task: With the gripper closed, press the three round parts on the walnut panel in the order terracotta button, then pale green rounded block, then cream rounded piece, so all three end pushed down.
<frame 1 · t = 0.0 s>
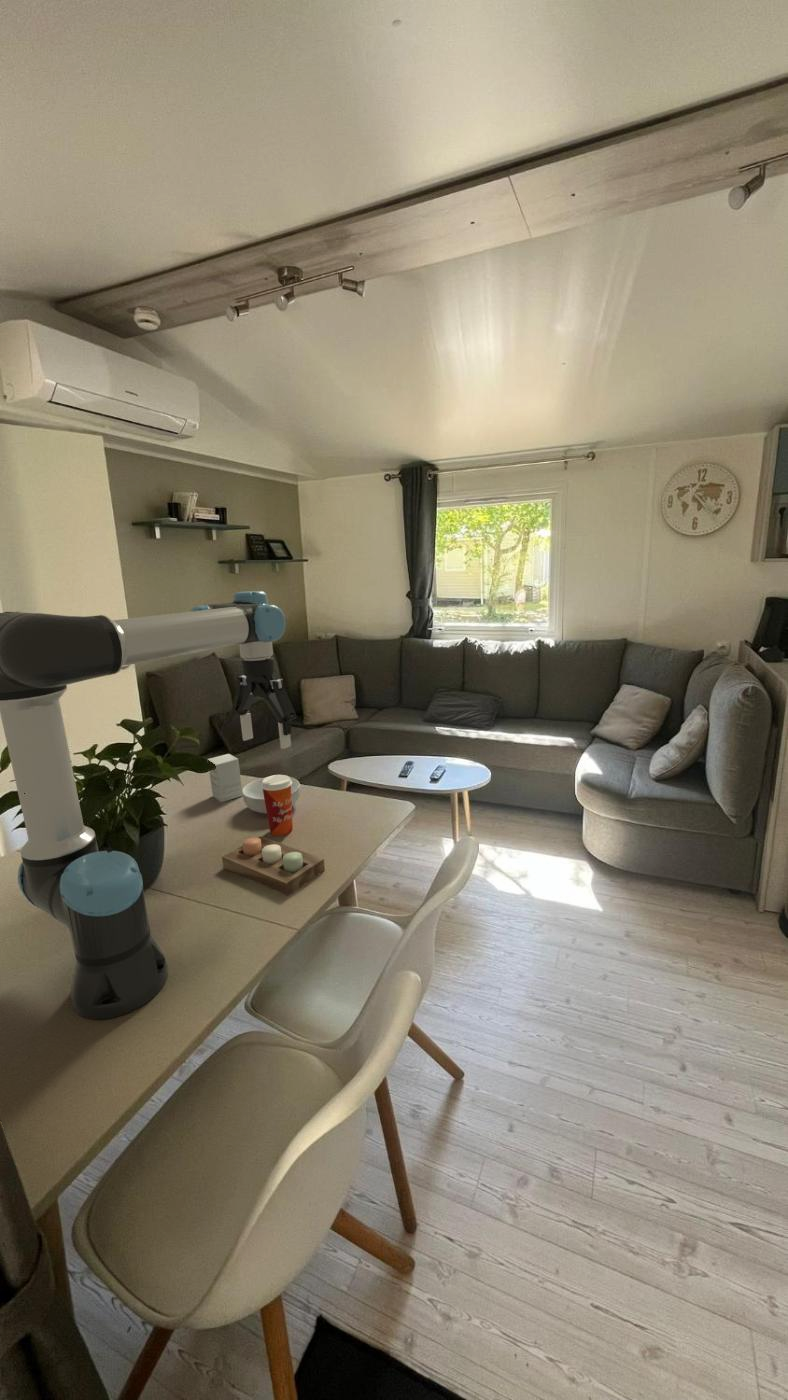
hand: (266, 743, 138), 28 cm above the table, fingers open, 13 cm apart
coffee cup: (281, 831, 153), on the table
walnut panel: (273, 869, 134), on the table
cereal bowl: (273, 809, 168), on the table
terracotta button: (252, 848, 137), point 3 cm above the table, slide at 0.0 cm
cream rounded piece: (272, 855, 133), point 3 cm above the table, slide at 0.0 cm
pale green rounded block: (293, 863, 129), point 3 cm above the table, slide at 0.0 cm
supplement box: (227, 796, 178), on the table
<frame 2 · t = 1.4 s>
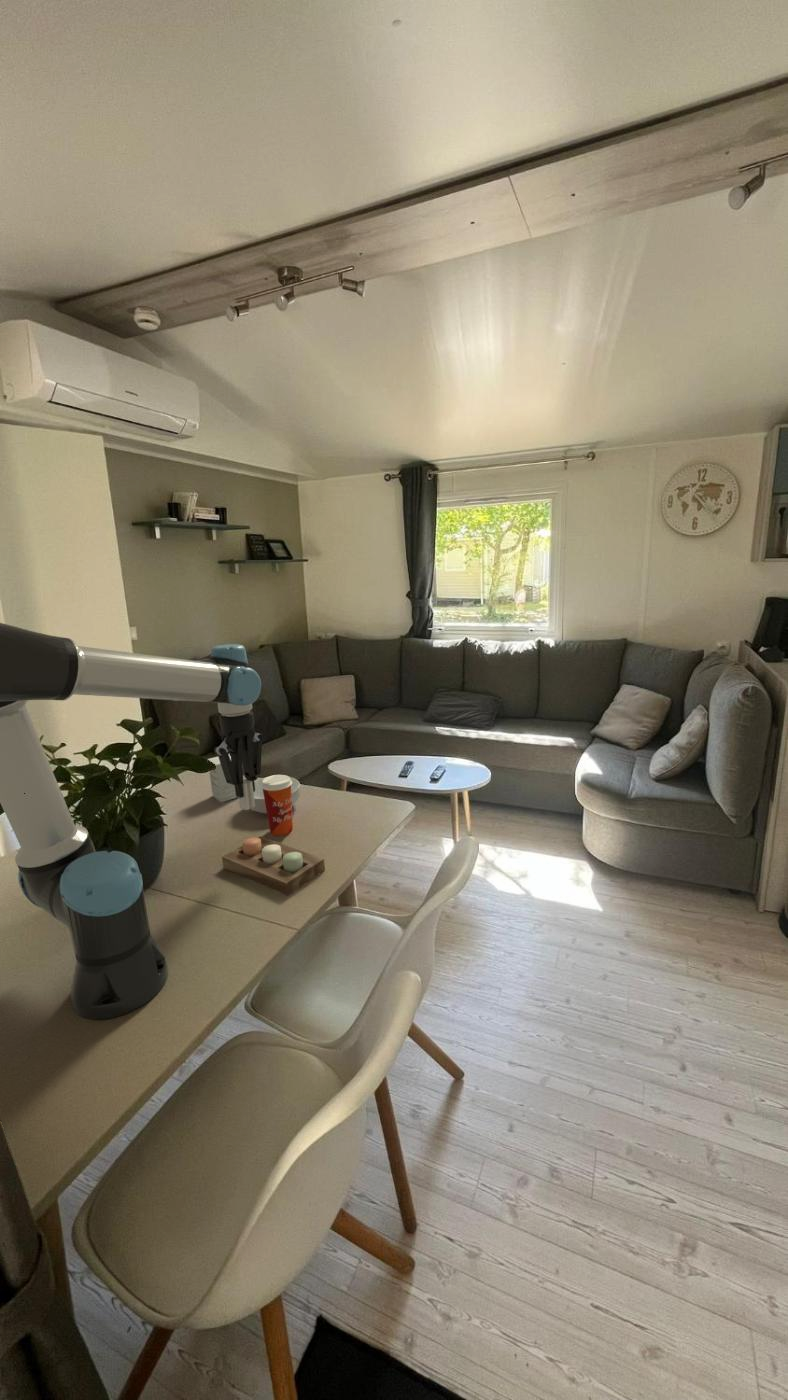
hand: (247, 807, 134), 14 cm above the table, fingers closed
nothing on the table moved.
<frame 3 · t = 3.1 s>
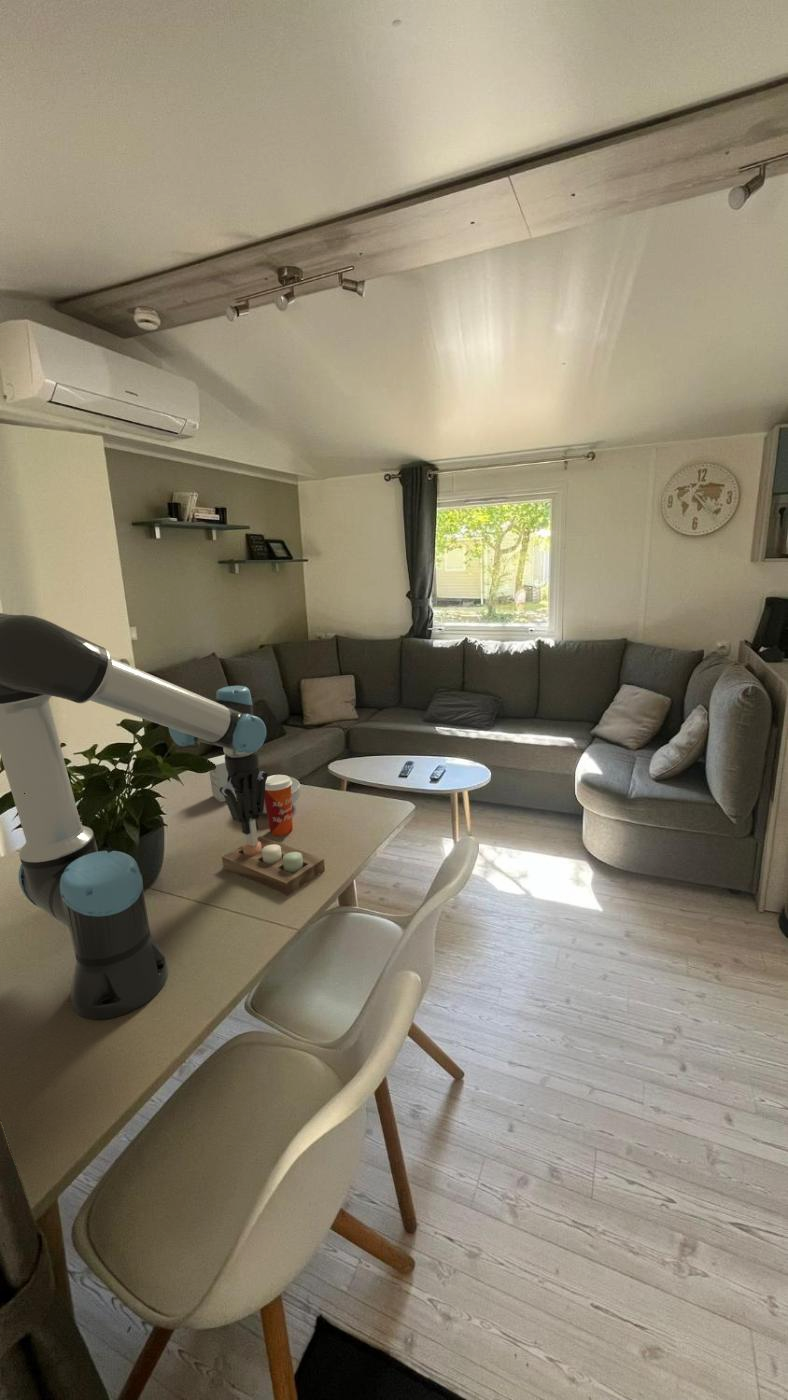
hand: (252, 843, 137), 5 cm above the table, fingers closed
terracotta button: (252, 851, 137), point 3 cm above the table, slide at -0.8 cm, touching gripper
everything else where it was.
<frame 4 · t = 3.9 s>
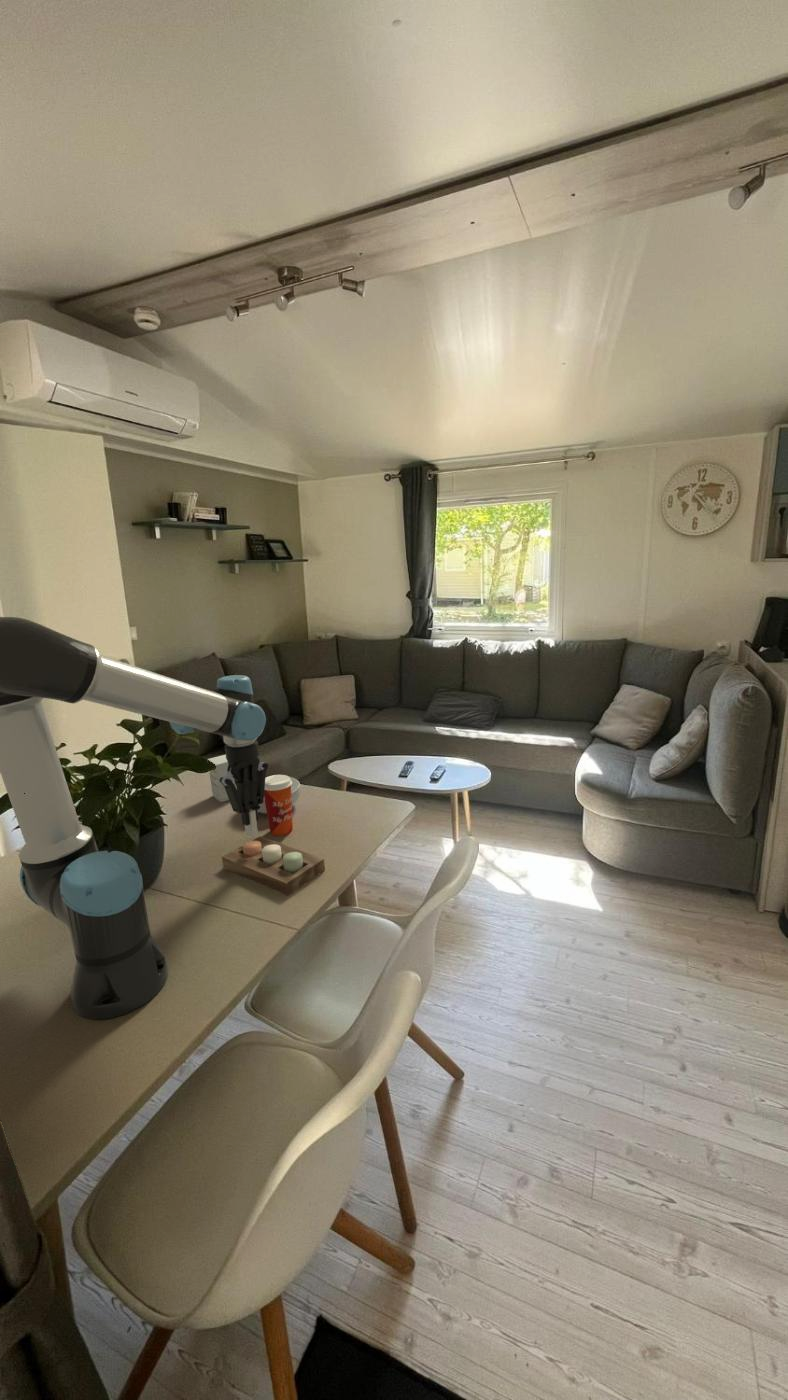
hand: (251, 834, 136), 7 cm above the table, fingers closed
terracotta button: (252, 851, 137), point 3 cm above the table, slide at -0.9 cm
everything else where it was.
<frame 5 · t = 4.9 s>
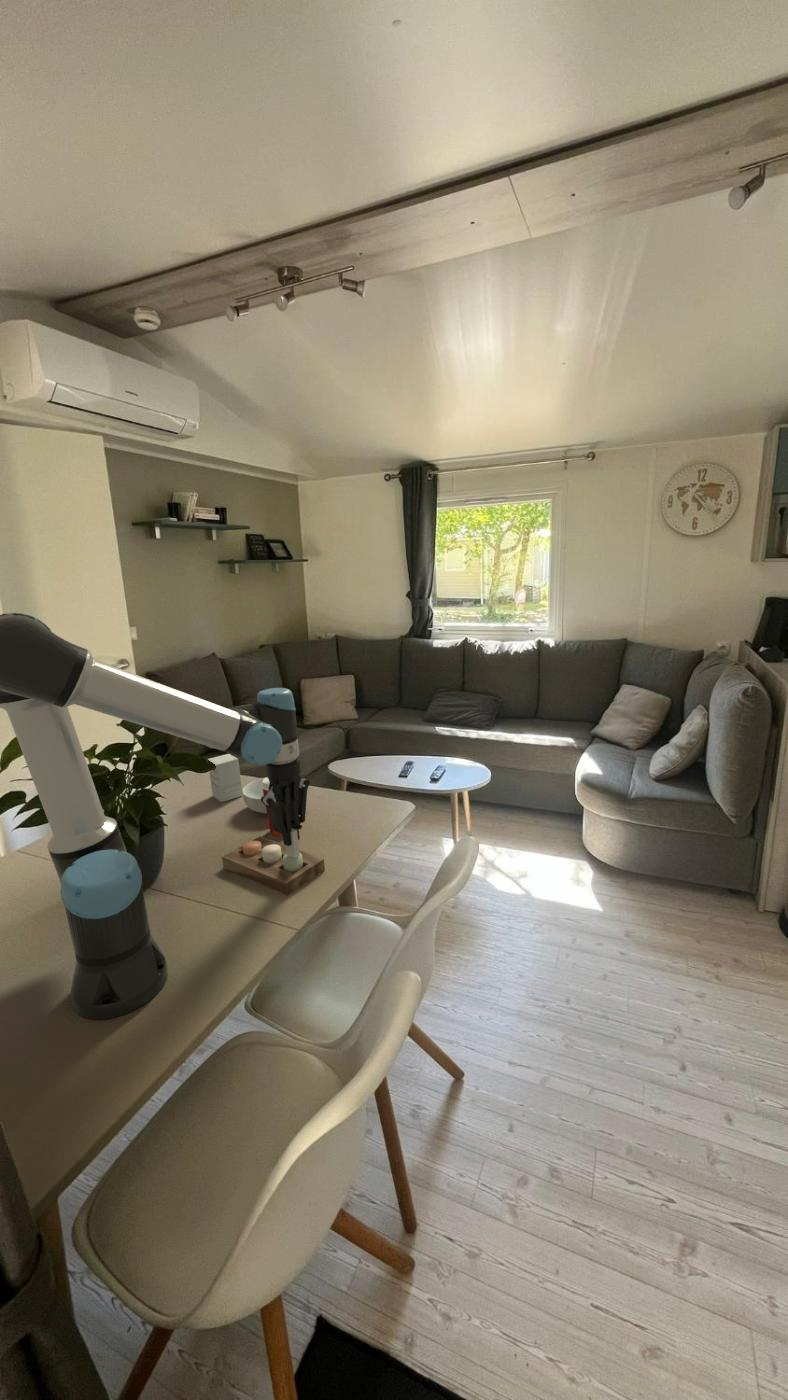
hand: (293, 855, 129), 6 cm above the table, fingers closed
pale green rounded block: (293, 863, 129), point 3 cm above the table, slide at 0.0 cm, touching gripper
everything else where it was.
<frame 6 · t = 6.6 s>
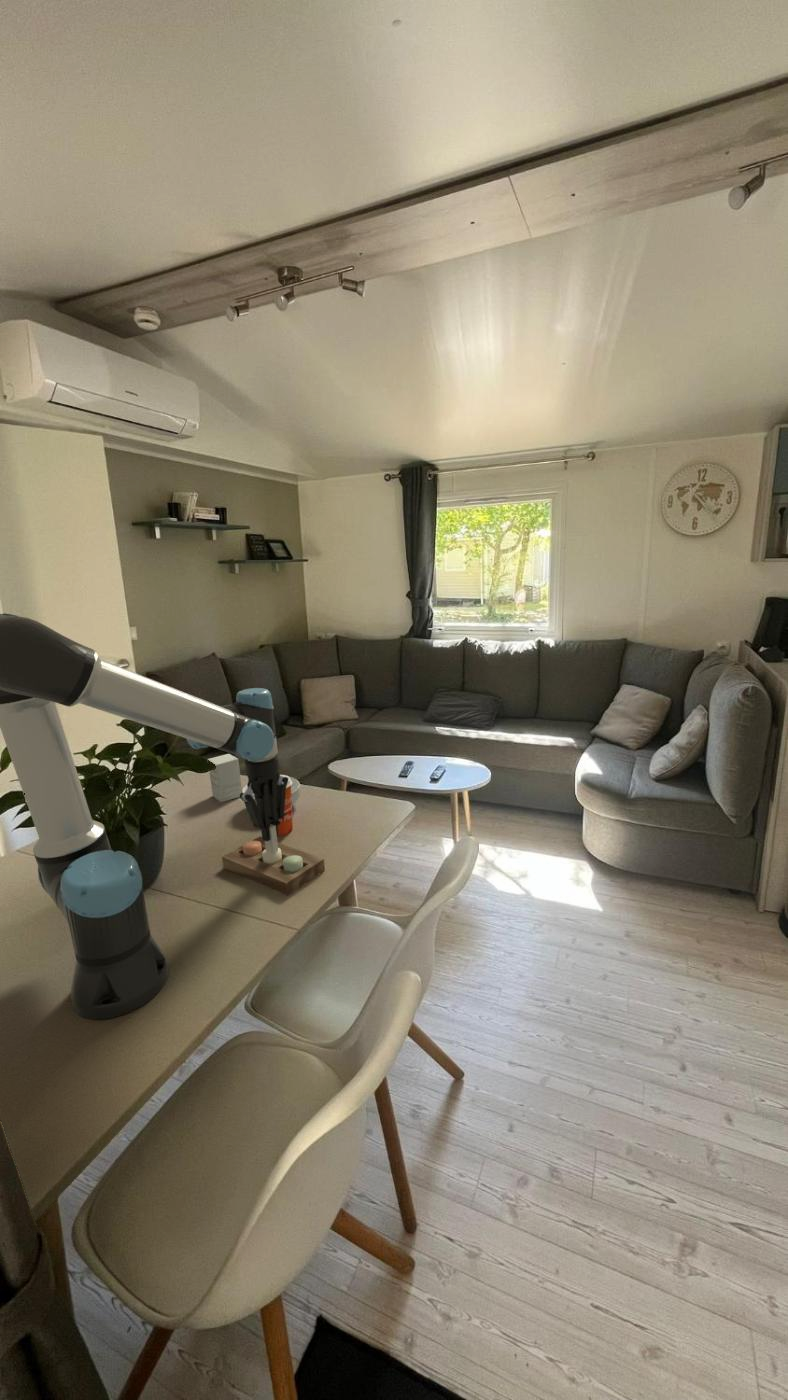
hand: (272, 850, 133), 5 cm above the table, fingers closed
cream rounded piece: (272, 858, 133), point 3 cm above the table, slide at -0.7 cm
pale green rounded block: (293, 867, 129), point 3 cm above the table, slide at -0.9 cm
everything else where it was.
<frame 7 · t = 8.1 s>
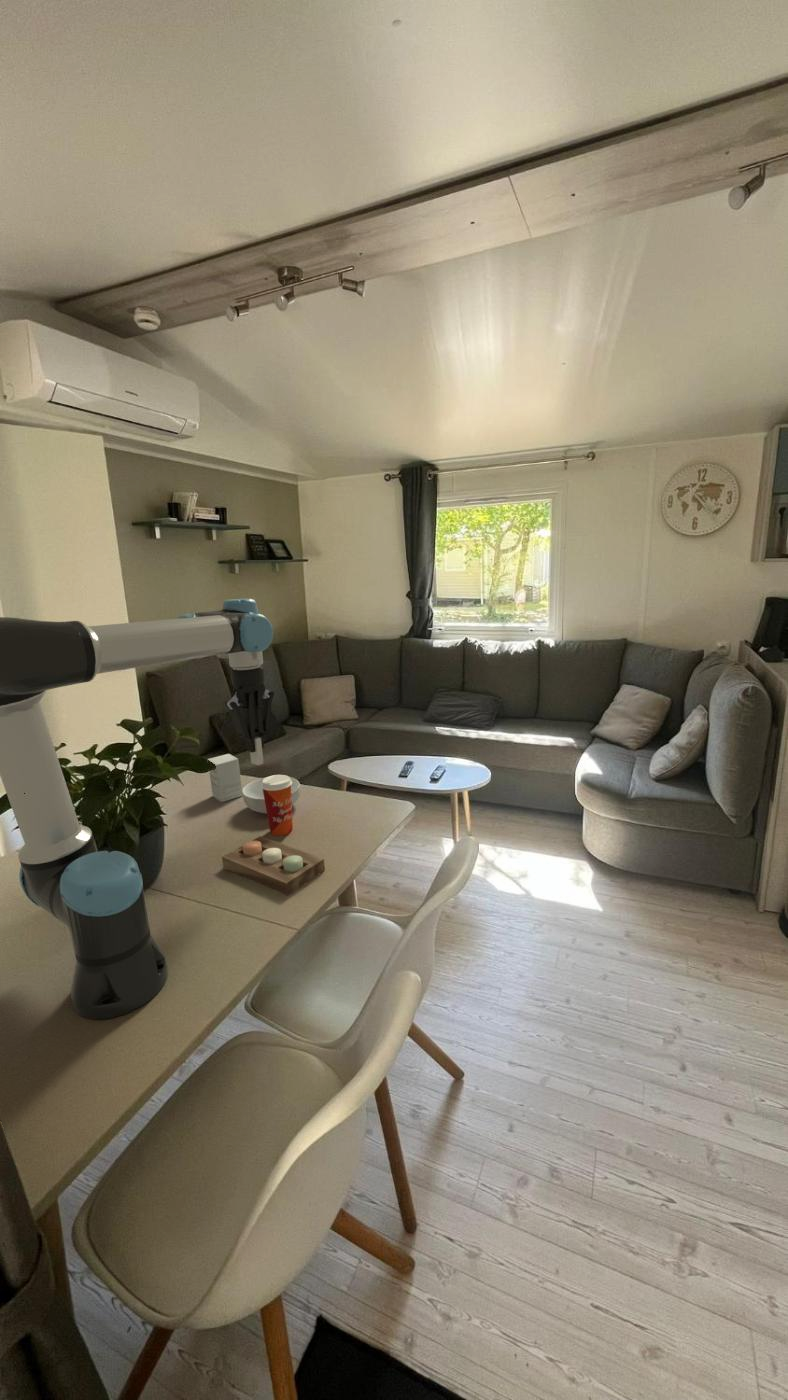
hand: (257, 763, 135), 24 cm above the table, fingers closed
nothing on the table moved.
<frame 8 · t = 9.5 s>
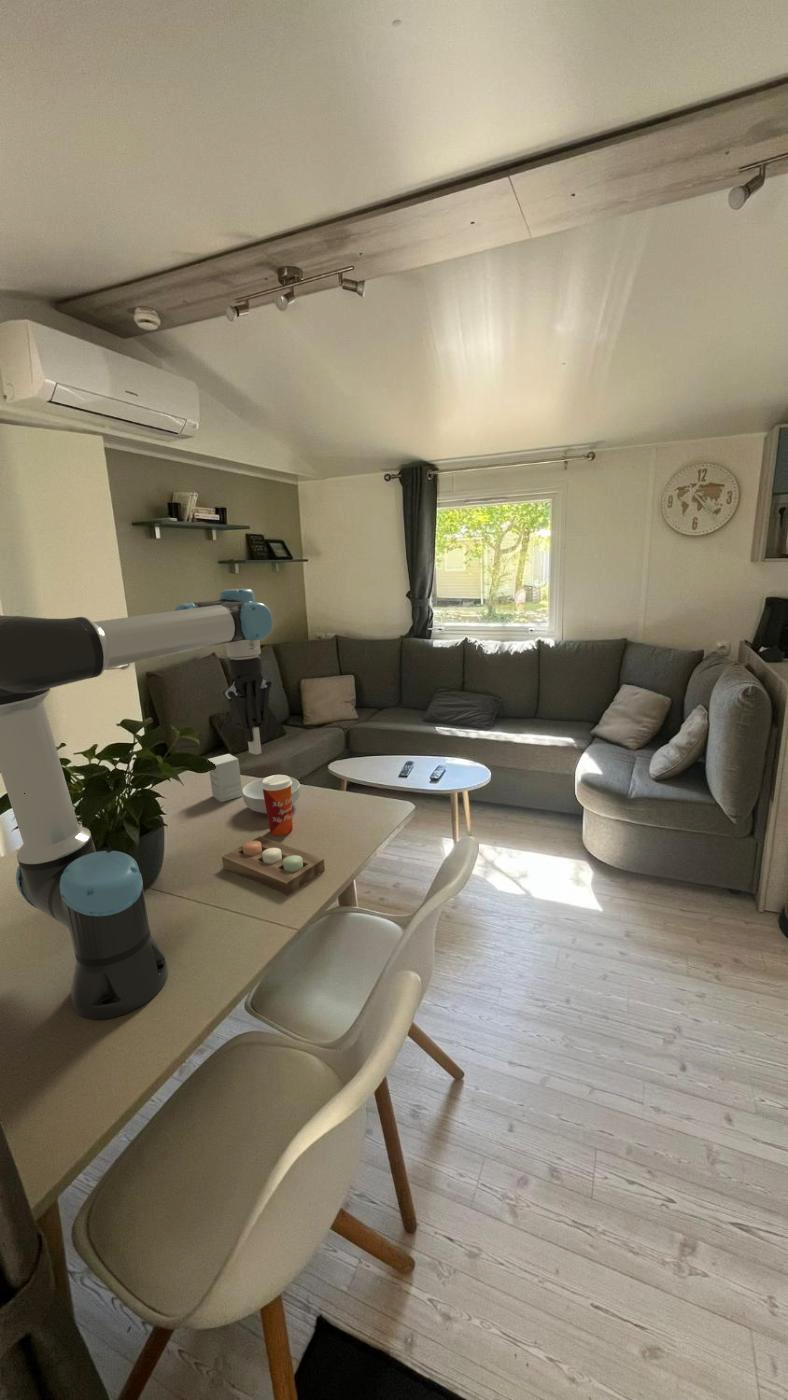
hand: (255, 752, 136), 26 cm above the table, fingers closed
nothing on the table moved.
at the end: terracotta button slide at -0.9 cm; pale green rounded block slide at -0.9 cm; cream rounded piece slide at -0.9 cm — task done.
